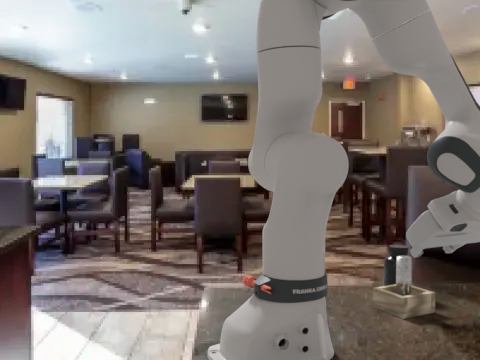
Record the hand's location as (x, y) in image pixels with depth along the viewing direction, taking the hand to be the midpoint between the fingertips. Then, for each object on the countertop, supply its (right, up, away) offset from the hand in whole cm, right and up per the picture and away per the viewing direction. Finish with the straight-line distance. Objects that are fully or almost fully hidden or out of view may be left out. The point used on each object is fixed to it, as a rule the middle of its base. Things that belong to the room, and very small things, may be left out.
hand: (430, 252), depth 109 cm
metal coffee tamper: (-3, -13, +8) cm, 15 cm away
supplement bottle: (-1, -13, +21) cm, 25 cm away
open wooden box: (-3, -14, +8) cm, 16 cm away
